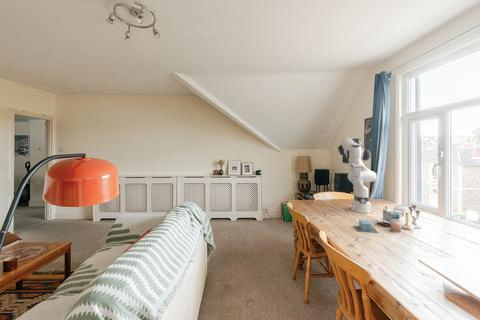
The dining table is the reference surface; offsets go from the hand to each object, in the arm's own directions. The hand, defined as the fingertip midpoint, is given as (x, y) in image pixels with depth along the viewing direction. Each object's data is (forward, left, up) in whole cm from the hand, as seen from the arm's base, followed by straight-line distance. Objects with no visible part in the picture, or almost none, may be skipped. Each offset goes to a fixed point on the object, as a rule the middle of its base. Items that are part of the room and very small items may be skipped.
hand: (354, 181), depth 179 cm
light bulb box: (+1, +26, -33) cm, 42 cm away
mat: (+20, +4, -33) cm, 39 cm away
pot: (+17, +24, -33) cm, 44 cm away
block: (+14, +4, -30) cm, 33 cm away
